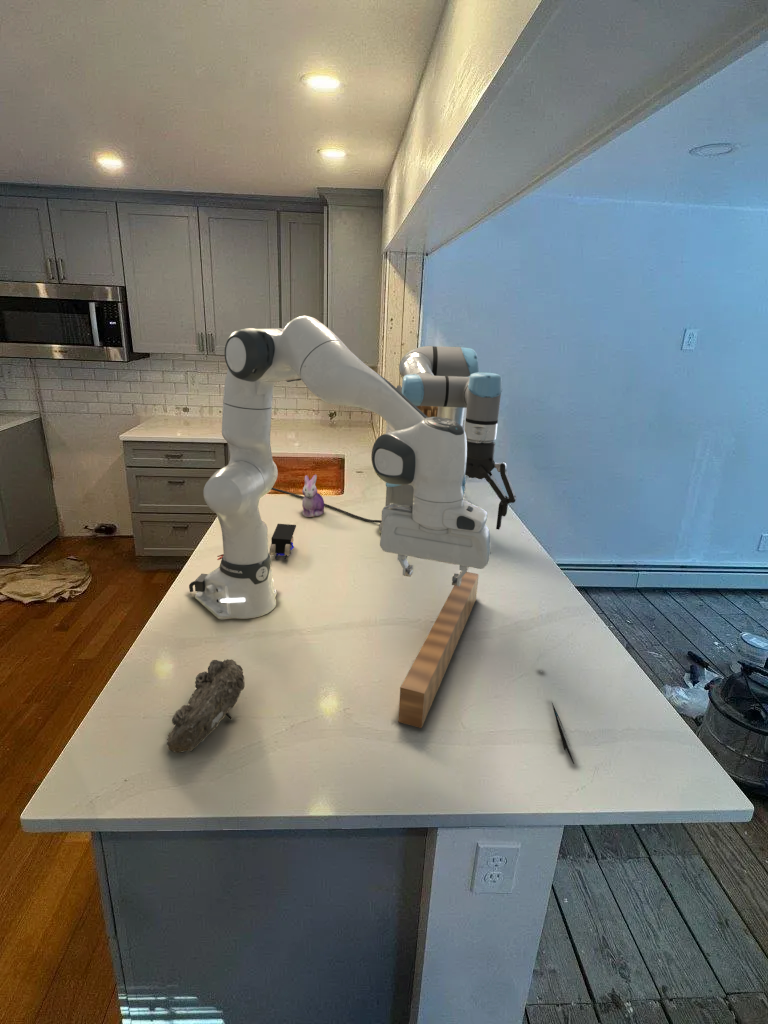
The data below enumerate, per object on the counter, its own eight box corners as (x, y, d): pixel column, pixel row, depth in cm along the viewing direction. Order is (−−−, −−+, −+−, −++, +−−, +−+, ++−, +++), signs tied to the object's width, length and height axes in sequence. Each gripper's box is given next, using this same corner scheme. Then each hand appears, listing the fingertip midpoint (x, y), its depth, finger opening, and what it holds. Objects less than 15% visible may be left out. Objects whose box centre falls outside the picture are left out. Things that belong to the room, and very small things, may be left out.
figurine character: (291, 566, 174) (297, 542, 188) (290, 545, 171) (296, 522, 184) (269, 566, 174) (276, 541, 187) (268, 544, 171) (275, 521, 184)
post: (459, 596, 158) (461, 570, 155) (475, 600, 156) (478, 573, 154) (398, 722, 109) (400, 687, 106) (421, 728, 108) (424, 693, 105)
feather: (541, 676, 126) (546, 670, 126) (574, 768, 100) (581, 761, 99) (535, 672, 126) (540, 666, 126) (566, 764, 100) (573, 756, 99)
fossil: (192, 660, 117) (244, 628, 112) (224, 691, 120) (276, 661, 115) (142, 746, 98) (202, 712, 93) (182, 779, 101) (242, 748, 96)
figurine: (305, 519, 209) (305, 480, 204) (296, 510, 217) (296, 472, 212) (329, 516, 213) (330, 478, 208) (319, 507, 222) (319, 470, 216)
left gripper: (376, 507, 101) (373, 576, 106) (490, 524, 95) (482, 597, 100) (387, 497, 107) (384, 563, 112) (496, 513, 101) (488, 582, 106)
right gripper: (424, 437, 135) (419, 520, 142) (531, 449, 128) (519, 536, 135) (432, 431, 142) (427, 511, 149) (534, 442, 134) (523, 526, 141)
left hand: (431, 579), depth 106 cm, fingers open, 8 cm apart
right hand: (471, 523), depth 142 cm, fingers open, 13 cm apart
